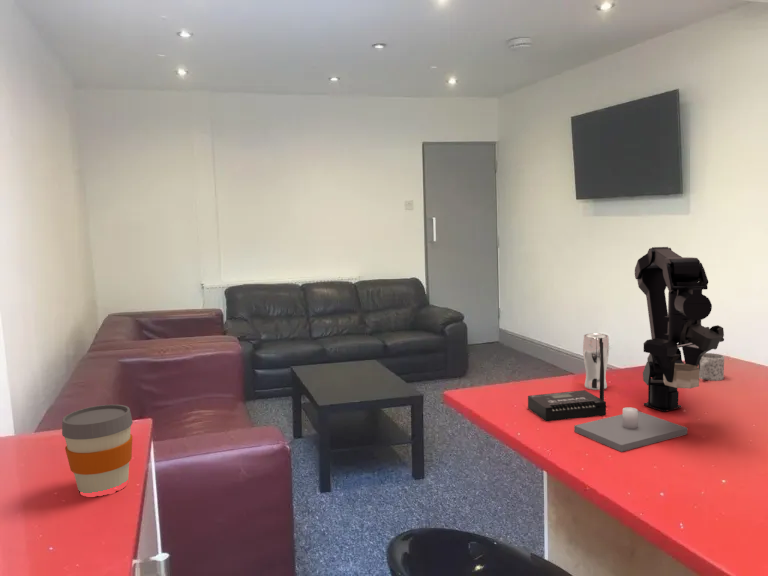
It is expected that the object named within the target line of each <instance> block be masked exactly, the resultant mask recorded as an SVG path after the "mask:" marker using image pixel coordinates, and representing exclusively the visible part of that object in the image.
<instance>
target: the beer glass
mask: <svg viewBox="0 0 768 576" xmlns="http://www.w3.org/2000/svg"><path fill="white" fill-rule="evenodd" d="M601 342H603V362H604V390H606V389H607V388H608V384H607V380H606V379H607V376H606V374H607V373H606V372H607V367H608V362H609V356H610V346H609V344H610V343H609V335H607V334H604V333H586V334H584V335H583V343H582V355H583V362H584V367H585V381H584V387H585V388H586V389H589V390H593V391H600V363H601Z"/></svg>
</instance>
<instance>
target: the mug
mask: <svg viewBox="0 0 768 576" xmlns="http://www.w3.org/2000/svg"><path fill="white" fill-rule="evenodd" d="M698 368H699V379H701V380H704V381H705V380H707V381H710V382H711V381H712V382H713V381H715V382H716V381H717V382H718V381H723V380H724V376H725V356H724V355H722V354H720V353H714V352H713V353H712V352H706V353H705V354H704V355H703V356H702V358H701V360H700V362H699V365H698Z"/></svg>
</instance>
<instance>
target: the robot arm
mask: <svg viewBox="0 0 768 576" xmlns="http://www.w3.org/2000/svg"><path fill="white" fill-rule="evenodd" d="M703 265H704V264H703V263H702V262H701V261H700V259H699V258H698V257H689V256H687V257H682V256H681V255H679V254H678V253H677V252H675V251H673V250H672V248H671V247H668V246H654V247H649V249H648V250H647V253H646V254H644V255H642V256H641V257H640V258H638V260H637V262H636V265H635V267H634V277H635V280H636V281H637V285H638V286H637V287H638V288H639V289H640V290H641V292H642V293H643V294H644V295H645V297H646V303H647V304H646V306H647V312H648V313H647V314H648V320H649V328H650V336H651V337H650V338H651V339H647V340H645V341H644V342H643V353H647V354H648V356H647V361H646V363H645V366H644V368H643V371H642V379H643V382H644V383H645V384H646V386H648V389H647V390H648V392H647V402H644V403H643V406H645V407H648V408H651V409H654V410H658V411H660V412H669V411H673V410H678V409H682V405H681V404H679V394H680V393H679V391H678V388H675V387H671V386H667V385H665V384H664V382H663V374H664V376H665V378H666V380H667V381H668V382H673V376H674V366H675V363H680V364H689V365H694V366H697V367H698V365H699V362H700V360H701V358H702V356H703V355H704V354H705V353H709V352H710V351H712V350H717V349H718V347H719V343H722V342H724V341H725V338H724V337H725V334H724V333H725V332H724V327H722V326H721V325H713V326H711V327H709V326H703V325H702V320H704V319H706V318H708V317H709V316H710V314H711V312H712V309H713V305H712V302H711V300H710V298H709V297H708V296H706V295H704V294H703V290H708V284H709V280H708V276H707V272H706V270H705V267H704V266H703ZM666 289H667V290H668V296H667V297H668V298H666ZM667 299H668V300H667ZM667 301H668V303H667ZM667 304H668V305H667ZM680 348H681V349H682V351H681V349H680ZM682 354H683V358H684V361H683V359H682Z"/></svg>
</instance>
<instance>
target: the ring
mask: <svg viewBox="0 0 768 576" xmlns="http://www.w3.org/2000/svg"><path fill="white" fill-rule="evenodd" d="M663 382H664V384H665V385H667V386H671V387H675V388H677V389H694V388H698V387H699V386H700V378H699V368H698V367H697V366H694V365H689V364H685V363H684V364H680V363H675V366H674V376H673V382H668V381H667V380H666V378H665V376H664V374H663Z"/></svg>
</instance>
